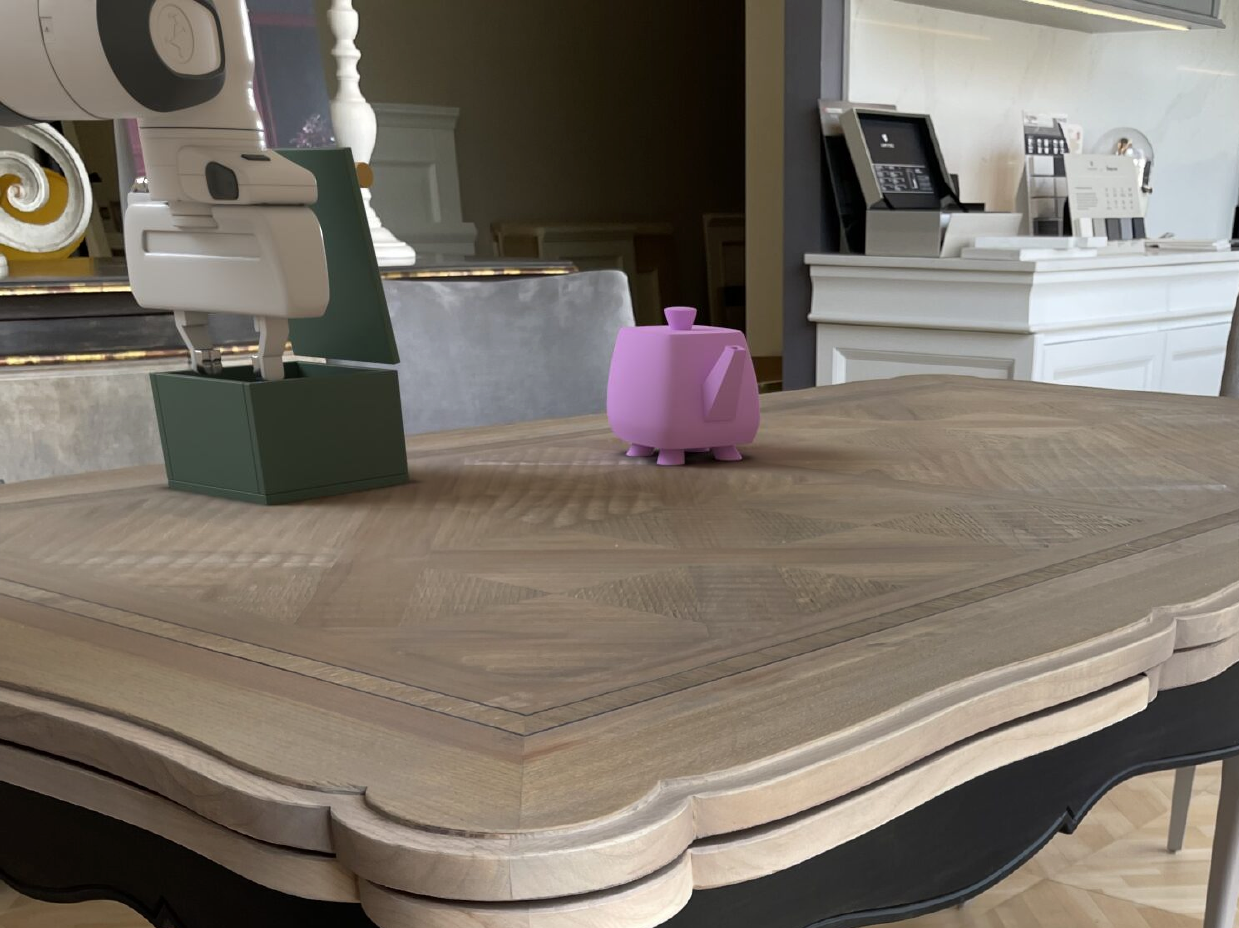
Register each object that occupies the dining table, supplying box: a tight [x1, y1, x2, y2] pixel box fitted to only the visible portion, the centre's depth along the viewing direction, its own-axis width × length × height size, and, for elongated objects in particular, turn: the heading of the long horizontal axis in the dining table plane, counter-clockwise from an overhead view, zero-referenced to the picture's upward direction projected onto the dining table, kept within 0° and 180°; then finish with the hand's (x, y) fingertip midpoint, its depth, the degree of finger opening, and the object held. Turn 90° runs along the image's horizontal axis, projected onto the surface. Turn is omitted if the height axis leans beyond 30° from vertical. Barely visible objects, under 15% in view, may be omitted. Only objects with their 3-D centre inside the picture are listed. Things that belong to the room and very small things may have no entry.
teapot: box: [606, 306, 761, 466], centre depth 144 cm, size 20×12×13 cm, turn 33°
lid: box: [267, 146, 401, 366], centre depth 128 cm, size 15×13×5 cm
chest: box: [148, 360, 410, 506], centre depth 128 cm, size 15×13×9 cm
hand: (239, 377), depth 123 cm, fingers open, 6 cm apart
